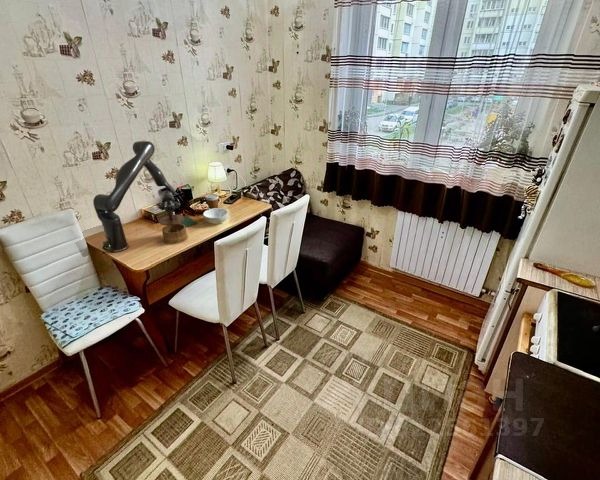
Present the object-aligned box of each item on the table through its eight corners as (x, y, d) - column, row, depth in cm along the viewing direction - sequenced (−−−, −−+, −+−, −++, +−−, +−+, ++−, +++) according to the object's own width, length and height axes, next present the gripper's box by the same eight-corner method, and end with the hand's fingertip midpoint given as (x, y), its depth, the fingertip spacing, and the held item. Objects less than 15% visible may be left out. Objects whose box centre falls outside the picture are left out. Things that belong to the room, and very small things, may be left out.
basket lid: (159, 227, 178) (156, 211, 173) (158, 218, 190) (155, 203, 185) (186, 224, 183) (183, 208, 179) (183, 214, 195) (180, 200, 190)
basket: (164, 245, 185) (162, 234, 181) (163, 236, 195) (161, 225, 192) (188, 241, 190) (186, 230, 186) (185, 232, 200) (184, 222, 197)
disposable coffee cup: (220, 212, 229) (218, 197, 224) (206, 213, 228) (204, 198, 222) (220, 208, 238) (218, 193, 232) (207, 208, 236) (205, 194, 230)
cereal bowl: (200, 221, 216) (198, 211, 213) (221, 215, 226) (220, 206, 223) (211, 229, 205) (210, 219, 202) (233, 222, 215) (232, 213, 212)
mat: (174, 230, 203) (174, 229, 202) (165, 222, 213) (164, 221, 213) (196, 223, 212) (196, 223, 212) (186, 216, 222) (186, 215, 222)
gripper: (155, 196, 190) (155, 205, 176) (178, 193, 195) (181, 202, 181) (157, 207, 193) (158, 217, 179) (180, 204, 198) (183, 214, 185)
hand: (170, 210), depth 180 cm, fingers closed on basket lid, 2 cm apart
